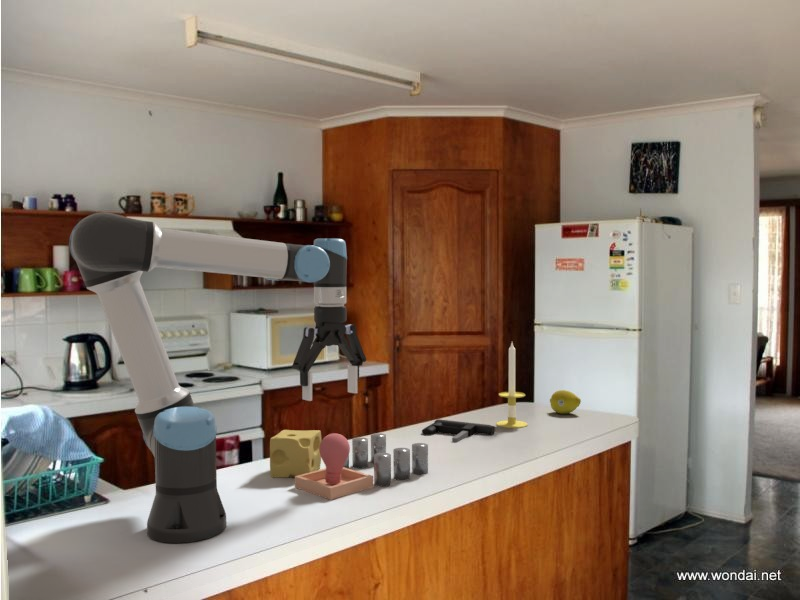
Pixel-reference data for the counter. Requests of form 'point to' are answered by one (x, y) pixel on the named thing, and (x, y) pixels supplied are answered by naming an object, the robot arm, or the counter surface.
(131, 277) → the robot arm
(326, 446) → the light bulb
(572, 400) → the lemon
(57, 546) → the counter surface
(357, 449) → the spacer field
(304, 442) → the cheese
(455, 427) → the black submachine gun
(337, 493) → the dish
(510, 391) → the candle
